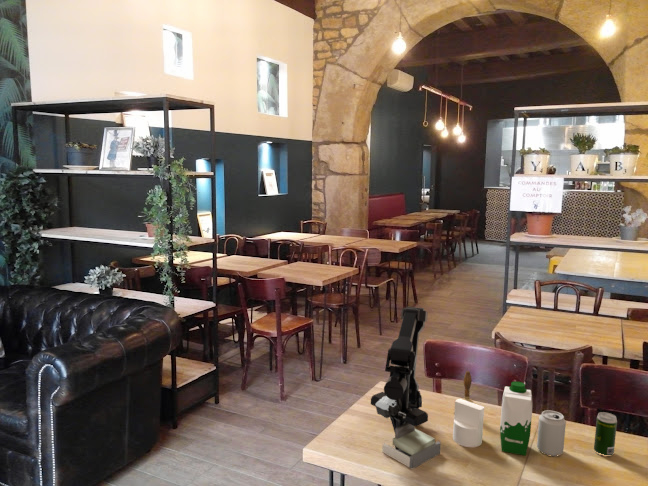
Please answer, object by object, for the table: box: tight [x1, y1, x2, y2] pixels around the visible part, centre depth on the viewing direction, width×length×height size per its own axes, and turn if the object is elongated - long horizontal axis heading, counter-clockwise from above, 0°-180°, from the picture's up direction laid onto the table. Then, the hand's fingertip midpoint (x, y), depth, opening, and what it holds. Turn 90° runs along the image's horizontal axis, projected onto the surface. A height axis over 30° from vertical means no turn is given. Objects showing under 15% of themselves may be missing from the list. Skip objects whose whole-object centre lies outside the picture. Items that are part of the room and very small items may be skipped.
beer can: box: [593, 411, 618, 456], centre depth 160 cm, size 5×5×12 cm
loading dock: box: [381, 441, 441, 470], centre depth 159 cm, size 13×12×4 cm
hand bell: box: [462, 370, 474, 403], centre depth 183 cm, size 8×8×16 cm
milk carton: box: [499, 380, 533, 457], centre depth 161 cm, size 9×9×20 cm
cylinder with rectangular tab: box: [452, 398, 485, 448], centre depth 166 cm, size 9×9×12 cm
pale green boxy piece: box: [392, 423, 436, 456], centre depth 158 cm, size 10×8×6 cm
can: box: [536, 409, 567, 457], centre depth 161 cm, size 8×8×12 cm
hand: (397, 434), depth 163 cm, fingers closed
